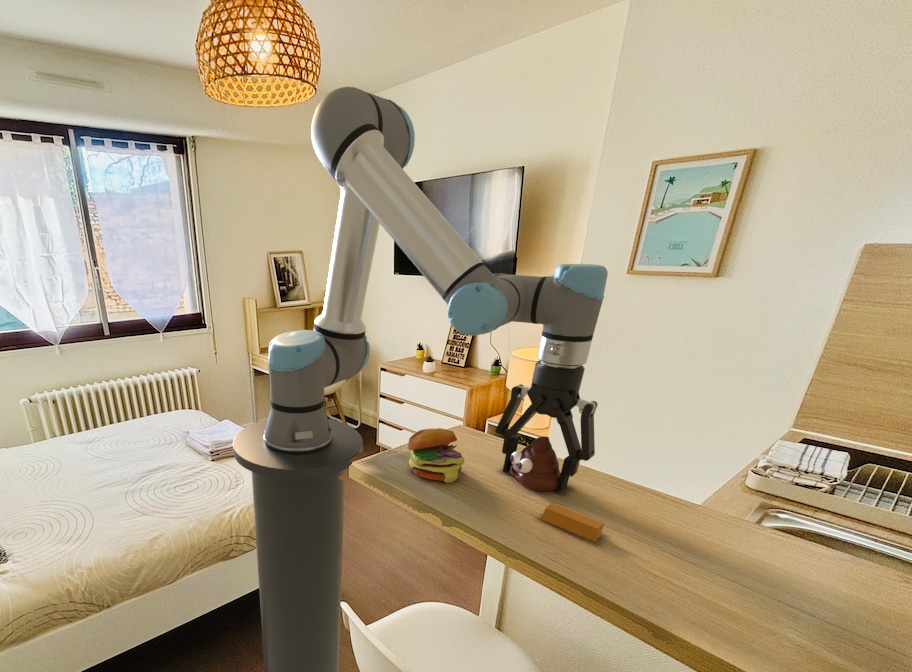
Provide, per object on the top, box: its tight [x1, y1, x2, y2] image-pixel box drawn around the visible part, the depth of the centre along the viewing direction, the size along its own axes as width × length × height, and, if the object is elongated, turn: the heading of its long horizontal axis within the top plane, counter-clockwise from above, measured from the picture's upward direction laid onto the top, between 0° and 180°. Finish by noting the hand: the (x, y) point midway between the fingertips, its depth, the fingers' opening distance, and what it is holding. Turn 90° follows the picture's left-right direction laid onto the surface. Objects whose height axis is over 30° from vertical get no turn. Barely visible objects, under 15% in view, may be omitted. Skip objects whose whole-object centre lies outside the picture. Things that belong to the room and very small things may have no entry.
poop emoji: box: [509, 435, 561, 492], centre depth 86 cm, size 10×8×9 cm
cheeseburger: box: [407, 427, 465, 484], centre depth 90 cm, size 10×11×10 cm
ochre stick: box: [541, 502, 605, 542], centre depth 74 cm, size 8×2×2 cm, turn 42°
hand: (533, 479), depth 88 cm, fingers closed on poop emoji, 9 cm apart
